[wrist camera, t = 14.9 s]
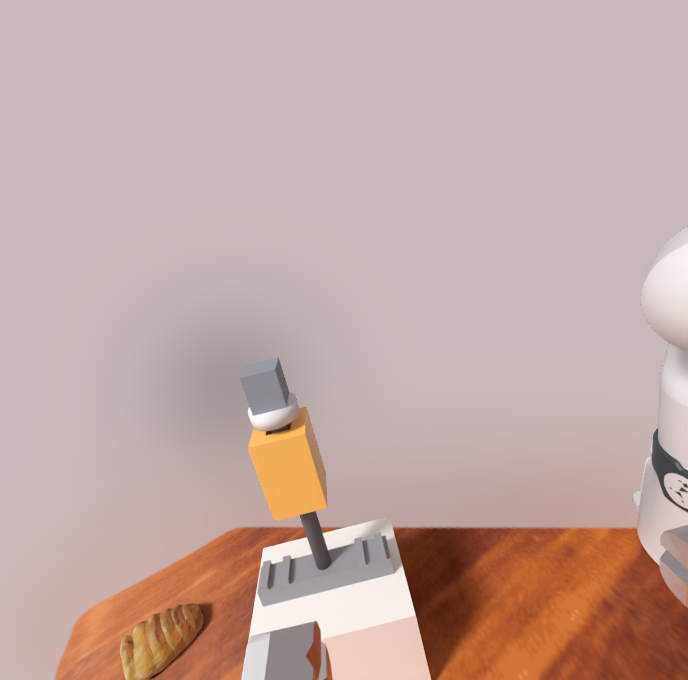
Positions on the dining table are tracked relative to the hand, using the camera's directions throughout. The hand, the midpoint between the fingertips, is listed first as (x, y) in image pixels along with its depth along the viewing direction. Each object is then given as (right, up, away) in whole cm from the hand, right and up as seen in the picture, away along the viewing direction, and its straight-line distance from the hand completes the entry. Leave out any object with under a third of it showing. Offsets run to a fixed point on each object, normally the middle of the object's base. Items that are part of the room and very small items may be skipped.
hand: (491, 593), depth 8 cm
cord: (-5, -20, +30) cm, 36 cm away
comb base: (-3, -29, +33) cm, 44 cm away
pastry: (-27, -34, +38) cm, 57 cm away
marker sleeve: (-8, -9, +27) cm, 30 cm away
